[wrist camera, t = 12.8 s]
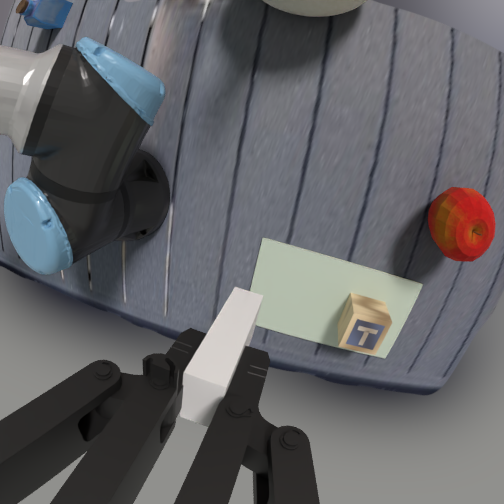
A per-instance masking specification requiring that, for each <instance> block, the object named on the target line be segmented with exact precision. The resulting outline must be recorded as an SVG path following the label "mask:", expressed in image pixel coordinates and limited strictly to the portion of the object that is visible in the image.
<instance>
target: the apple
mask: <svg viewBox="0 0 504 504" xmlns="http://www.w3.org/2000/svg"><path fill="white" fill-rule="evenodd" d="M428 224H429V229H430V232H431V236H432V239H433V240H434V241H435V243H436V244H437V245H438V247H439V248H440V249H441V251H442V252H443V254H444V255H445V256H446V257H448V258H451V259H453V260H455V261H474V260H475V259H477V258H479V257H480V256H482V255H483V253H484V252H485V251H486V250H487V249H488V248H489V246H490V244H491V242H492V240H493V238H494V234H495V218H494V213H493V211H492V209H491V207H490V205H489V203H488V202H487V201H486V199H485V198H484V197H483V196H482V195H481V194H480V193H478V192H477V191H475V190H474V189H469V188H458V187H451V188H450V189H448V190H446V191H445V192H443V193H442V194H440V195H439V196H438V197H437V198H436V199H435V200H434V201H433V202H432V204H431V206H430V209H429V214H428Z"/></svg>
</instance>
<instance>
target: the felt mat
mask: <svg viewBox="0 0 504 504" xmlns="http://www.w3.org/2000/svg"><path fill="white" fill-rule="evenodd" d="M422 286H423V284H422V283H418V282H415V281H412V280H409V279H405V278H402V277H399V276H395V275H392V274H389V273H385V272H382V271H378V270H375V269H372V268H368V267H365V266H362V265H358V264H355V263H351V262H348V261H344V260H341V259H338V258H334V257H331V256H327V255H324V254H320V253H317V252H313V251H310V250H306V249H303V248H299V247H296V246H292V245H288V244H285V243H281V242H278V241H274V240H271V239H267V238H263V239H262V243H261V247H260V251H259V255H258V259H257V264H256V268H255V272H254V276H253V280H252V284H251V288H250V292H253V293H257V294H260V295H264V296H263V299H262V303H261V307H260V310H259V314H258V318H257V321H256V325H257V326H260V327H263V328H267V329H270V330H274V331H277V332H281V333H284V334H288V335H291V336H295V337H299V338H302V339H306V340H310V341H314V342H318V343H321V344H325V345H329V346H333V347H337V348H341V349H346V350H350V351H354V352H358V353H363V354H367V355H371V356H376V357H381V358H386V356H387V354H388V353H389V351H390V349H391V347H392V345H393V344H394V342H395V340H396V338H397V336H398V335H399V333H400V331H401V329H402V327H403V325H404V323H405V321H406V319H407V317H408V315H409V313H410V311H411V309H412V307H413V305H414V303H415V301H416V299H417V297H418V295H419V292H420V290H421V288H422ZM350 293H354V294H358V295H361V296H365V297H369V298H372V299H376V300H380V301H383V302H385V303H386V306H387V309H388V311H389V314H390V317H391V320H392V324H391V326H390V328H389V330H388V332H387V334H386V336H385V338H384V340H383V342H382V344H381V345H380V347H379V349H378V351H377V353H376V354H375V355H372V354H368V353H364V352H359V351H355V350H351V349H347V348H342V347H338V326H337V324H338V322H339V319H340V317H341V315H342V312H343V310H344V307H345V305H346V303H347V300H348V298H349V295H350Z"/></svg>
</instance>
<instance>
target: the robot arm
mask: <svg viewBox="0 0 504 504" xmlns="http://www.w3.org/2000/svg"><path fill="white" fill-rule="evenodd" d="M164 97H165V86H164V84H163V82H162V81H161V80H160V79H159V78H157V77H156V76H155V75H153V74H152V73H150V72H149V71H147V70H145V69H144V68H142V67H141V66H139V65H137V64H136V63H134V62H132V61H131V60H129V59H127V58H126V57H124V56H122V55H120V54H119V53H117V52H115V51H113V50H112V49H110V48H108V47H106V46H104V45H102V44H100V43H98V42H96V41H94V40H92V39H90V38H88V37H84V38H82V39H81V40H80V41H79V42H77V43H76V48H73V47H69V46H66V45H63V44H59V45H57V46H55V47H53V48H51V49H49V50H47V51H45V52H43V53H39V54H38V53H33V52H29V51H25V50H21V49H16V48H11V47H6V46H1V45H0V135H5V136H8V137H9V138H10V139H11V140H12V142H13V144H14V146H15V148H16V149H17V151H18V153H19V154H23V155H28V156H33V158H32V162H31V165H30V169H29V173H28V176H27V177H26V178H24V177H22V178H18V179H17V180H16V181H15V182H13V184H11V185H10V186H9V187H8V189H7V191H6V195H5V200H4V215H5V222H6V226H7V230H8V233H9V236H10V238H11V241H12V243H13V245H14V247H15V249H16V251H17V253H18V254H19V256H20V257H21V259H22V260H23V261H24V262H25V263H26V264H27V265H28V266H29V267H30V268H31V269H32V270H34V271H35V272H37V273H40V274H43V275H45V274H47V275H50V274H54V273H56V272H58V271H61V270H63V269H67V268H69V267H70V266H71V265H72V264H73V263H75V262H77V261H78V260H80V259H82V258H84V257H85V256H87V255H89V254H91V253H93V252H94V251H96V250H98V249H100V248H102V247H103V246H105V245H107V244H109V243H111V242H112V241H133V240H138V239H141V238H144V237H145V236H147V235H149V234H151V233H152V232H154V231H155V230H156V229H157V228H158V227H159V226H160V225H161V224H162V222H163V221H164V219H165V217H166V215H167V212H168V208H169V203H170V189H169V184H168V180H167V177H166V174H165V172H164V170H163V168H162V167H161V165H160V164H159V163H158V161H157V160H156V159H155V158H154V157H153V156H151V155H150V154H148V153H147V152H145V151H142V150H139V147H140V145H141V143H142V141H143V139H144V137H145V135H146V133H147V132H148V130H149V128H150V126H152V125H153V123H154V121H153V120H154V117H155V115H156V113H157V111H158V109H159V107H160V105H161V104H162V102H163V100H164ZM263 296H264V295H260V294H257V293H253V292H250V291H247V290H243V289H240V288H237V287H235V288H234V290H233V291H232V293H231V295H230V296H229V298H228V300H227V301H226V303H225V305H224V306H223V308H222V310H221V311H220V313H219V315H218V316H217V318H216V320H215V321H214V323H213V325H212V326H211V328H210V330H209V331H208V333H207V334H206V333H203V332H200V331H197V330H194V329H192V328H190V329H188V330H186V331H184V332H182V333H181V334H180V336H179V337H178V338H177V340H176V342H175V343H174V344H173V345H172V348H170V349H169V351H168V352H167V353H166V355H165V354H151V355H148V356H146V357H145V358H144V359H143V375H133V374H127V373H121V372H120V369H119V367H118V366H117V365H116V364H114V363H113V362H111V361H107V360H98V361H95V362H93V363H91V364H89V365H88V366H86V367H85V368H83V369H81V370H80V371H78V372H77V373H75V374H73V375H72V376H70V377H69V378H67V379H66V380H64V381H62V382H61V383H59V384H58V385H56V386H55V387H53V388H52V389H50V390H48V391H47V392H45V393H43V394H42V395H40V396H39V397H37V398H36V399H34V400H32V401H31V402H29V403H28V404H26V405H25V406H23V407H21V408H20V409H18V410H16V411H15V412H13V413H12V414H10V415H9V416H7V417H5V418H4V419H2V420H1V421H0V504H17V503H19V502H20V501H21V500H23V499H24V498H26V497H27V496H28V495H30V494H31V493H33V492H34V491H35V490H37V489H38V488H40V487H41V486H42V485H43V484H45V483H46V482H48V481H49V480H50V479H52V478H53V477H54V476H55V475H57V474H58V473H60V472H61V471H62V470H63V469H65V468H66V467H67V466H68V465H70V464H71V463H72V462H74V461H75V460H76V459H77V458H79V457H80V456H81V455H83V454H84V453H85V452H86V451H87V453H86V454H85V455H84V457H83V458H82V460H81V461H80V462H79V464H78V465H77V466H76V468H75V469H74V471H73V472H72V474H71V475H70V476H69V478H68V479H67V480H66V482H65V483H64V485H63V486H62V487H61V489H60V490H59V492H58V493H57V495H56V496H55V497H54V499H53V500H52V502H51V503H50V504H133V503H134V501H135V499H136V497H137V495H138V494H139V492H140V490H141V488H142V486H143V484H144V483H145V481H146V479H147V477H148V475H149V473H150V472H151V470H152V468H153V466H154V464H155V462H156V461H157V459H158V457H159V455H160V453H161V451H162V450H163V448H164V446H165V444H166V442H167V440H168V438H169V436H170V435H171V433H172V431H173V429H174V427H175V423H176V417H177V415H178V414H179V412H180V417H183V418H186V419H188V420H191V421H193V422H196V423H199V424H202V425H204V426H207V427H208V430H207V432H206V434H205V436H204V439H203V441H202V443H201V446H200V448H199V450H198V452H197V455H196V457H195V459H194V461H193V464H192V466H191V468H190V470H189V472H188V474H187V477H186V479H185V481H184V483H183V485H182V487H181V490H180V492H179V494H178V496H177V498H176V501H175V503H174V504H228V502H229V500H230V497H231V494H232V490H233V488H234V485H235V482H236V479H237V476H238V472H239V469H240V466H241V464H242V465H243V466H245V467H246V468H248V469H250V470H252V471H253V493H254V504H320V503H319V497H318V490H317V484H316V478H315V472H314V466H313V460H312V454H311V448H310V442H309V439H308V437H307V435H306V434H305V433H304V432H303V431H302V430H300V429H298V428H296V427H293V426H281V427H279V428H278V427H276V426H274V425H272V424H271V423H269V422H268V421H266V420H265V419H264V418H263V417H262V416H261V414H260V412H259V408H258V404H259V400H260V396H261V393H262V389H263V385H264V382H265V378H266V375H267V371H268V367H269V363H270V359H269V356H268V352H265V351H262V350H258V349H255V348H252V347H249V344H250V341H251V339H252V336H253V332H254V329H255V325H256V321H257V318H258V314H259V310H260V307H261V303H262V299H263Z"/></svg>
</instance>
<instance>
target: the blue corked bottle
mask: <svg viewBox="0 0 504 504" xmlns="http://www.w3.org/2000/svg"><path fill="white" fill-rule="evenodd" d="M72 4H73V3H71V2H68V1H66V0H36V1H32V0H27V1H26V0H22V1H21V2H20V3H19V5H18V6H17V9H16V13H20V15H25V17H24V20H25V21H26V23H27V25H29V26H34V27H39V28H44V29H55V28H62V27H63V24H64V22H65V20H66V17H67V15H68V13H69V11H70V8H71V6H72Z"/></svg>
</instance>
